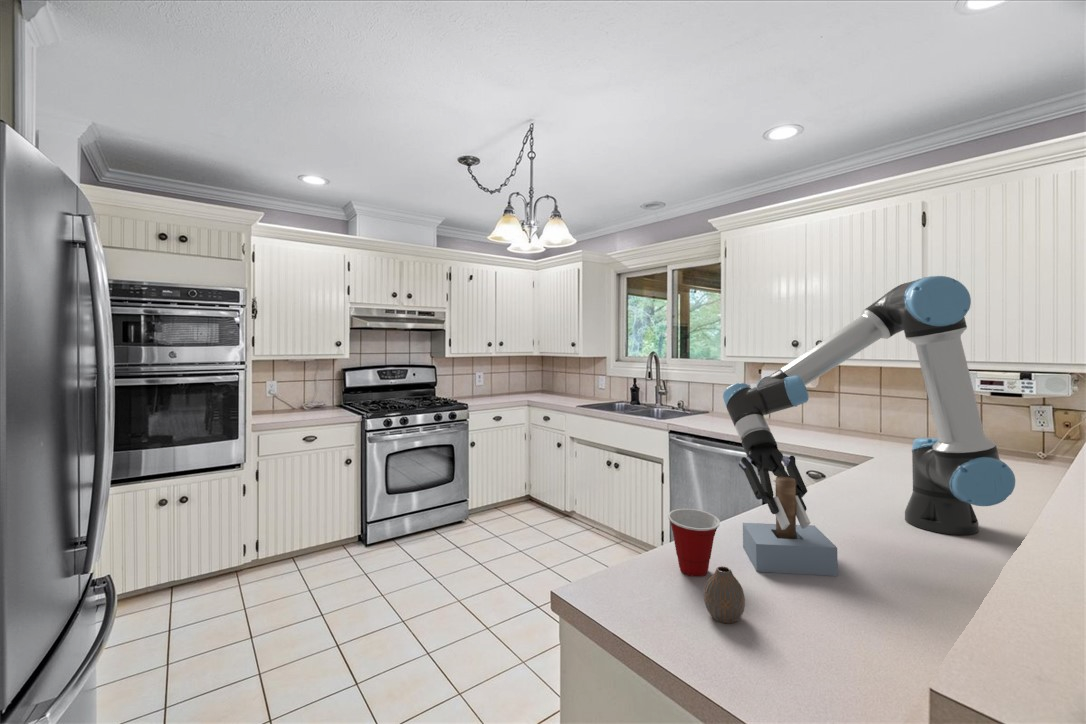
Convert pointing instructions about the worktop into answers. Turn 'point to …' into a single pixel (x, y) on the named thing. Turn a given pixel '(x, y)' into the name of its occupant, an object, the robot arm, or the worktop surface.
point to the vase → (724, 596)
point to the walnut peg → (787, 506)
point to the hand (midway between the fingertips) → (795, 526)
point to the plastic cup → (693, 539)
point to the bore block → (789, 550)
